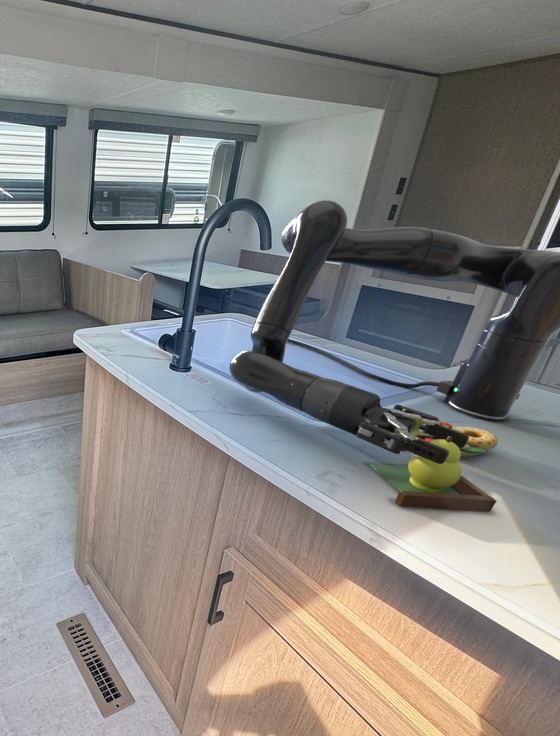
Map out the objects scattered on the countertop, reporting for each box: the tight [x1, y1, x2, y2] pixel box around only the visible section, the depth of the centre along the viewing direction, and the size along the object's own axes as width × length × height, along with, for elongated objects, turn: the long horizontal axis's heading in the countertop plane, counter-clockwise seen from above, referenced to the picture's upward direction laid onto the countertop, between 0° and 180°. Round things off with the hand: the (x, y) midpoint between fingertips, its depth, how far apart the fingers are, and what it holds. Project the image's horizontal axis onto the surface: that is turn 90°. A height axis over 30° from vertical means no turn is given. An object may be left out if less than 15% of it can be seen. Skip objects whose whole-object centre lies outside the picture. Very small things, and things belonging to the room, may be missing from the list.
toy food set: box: [414, 418, 499, 457], centre depth 79 cm, size 13×13×3 cm
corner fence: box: [369, 463, 498, 512], centre depth 67 cm, size 13×13×2 cm
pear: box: [407, 436, 462, 493], centre depth 64 cm, size 6×6×9 cm
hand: (456, 450), depth 62 cm, fingers open, 8 cm apart
